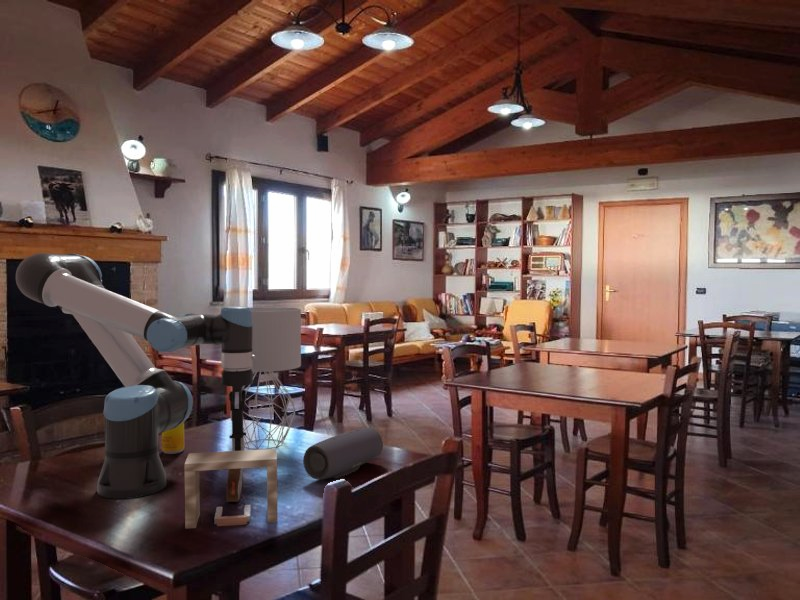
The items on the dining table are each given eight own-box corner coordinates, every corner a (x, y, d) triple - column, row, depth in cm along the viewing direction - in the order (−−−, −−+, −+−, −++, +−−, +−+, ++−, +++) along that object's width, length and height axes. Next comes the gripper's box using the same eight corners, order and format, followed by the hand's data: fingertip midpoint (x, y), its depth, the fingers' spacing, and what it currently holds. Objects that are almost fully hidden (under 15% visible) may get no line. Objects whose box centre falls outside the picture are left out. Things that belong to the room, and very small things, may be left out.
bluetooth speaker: (356, 459, 182) (356, 423, 181) (384, 464, 177) (384, 427, 176) (301, 481, 163) (300, 440, 162) (331, 488, 158) (331, 446, 157)
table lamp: (211, 443, 199) (209, 309, 197) (277, 431, 213) (276, 306, 211) (245, 459, 181) (244, 312, 180) (315, 445, 196) (315, 309, 194)
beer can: (158, 451, 189) (157, 398, 189) (178, 447, 194) (178, 396, 193) (167, 455, 185) (166, 402, 184) (188, 451, 189) (187, 399, 188)
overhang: (185, 528, 132) (184, 464, 132) (189, 514, 140) (189, 453, 140) (277, 522, 136) (277, 459, 136) (276, 508, 144) (276, 448, 143)
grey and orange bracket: (214, 526, 134) (213, 519, 134) (216, 512, 141) (216, 505, 141) (249, 524, 135) (249, 516, 135) (250, 510, 143) (250, 503, 143)
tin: (231, 486, 159) (231, 451, 159) (245, 485, 160) (245, 450, 159) (225, 508, 144) (224, 469, 144) (240, 507, 145) (239, 469, 144)
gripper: (252, 372, 160) (253, 469, 161) (253, 364, 172) (253, 455, 173) (220, 373, 158) (221, 471, 159) (223, 365, 171) (224, 456, 172)
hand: (238, 462), depth 166 cm, fingers closed
